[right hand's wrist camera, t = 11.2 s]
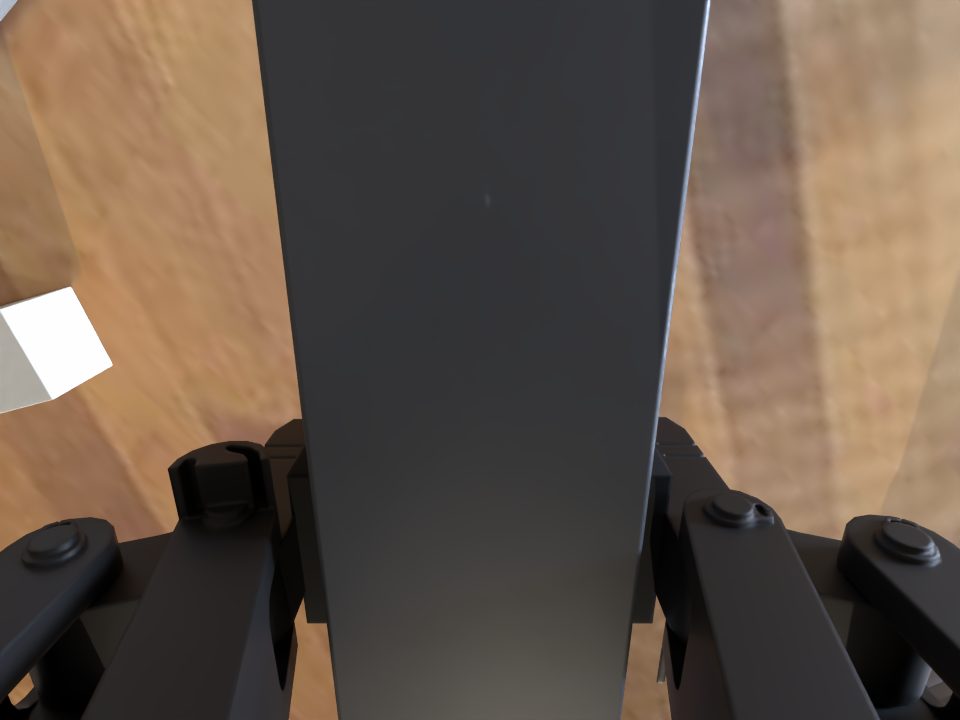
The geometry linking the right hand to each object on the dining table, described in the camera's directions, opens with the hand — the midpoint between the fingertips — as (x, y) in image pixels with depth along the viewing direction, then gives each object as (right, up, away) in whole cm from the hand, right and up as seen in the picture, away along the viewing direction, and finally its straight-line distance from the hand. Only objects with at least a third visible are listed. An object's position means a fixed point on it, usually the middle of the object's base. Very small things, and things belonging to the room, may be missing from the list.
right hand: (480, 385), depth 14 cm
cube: (-20, +2, +12) cm, 23 cm away
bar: (0, +9, -3) cm, 9 cm away
